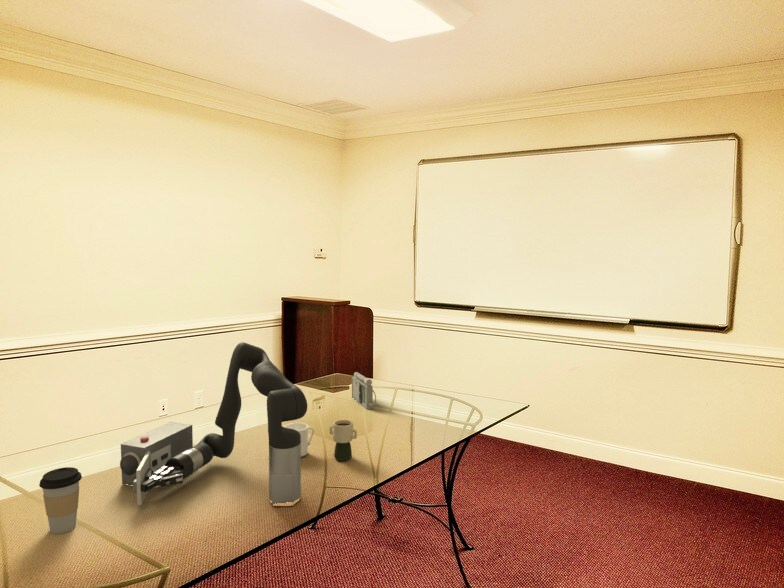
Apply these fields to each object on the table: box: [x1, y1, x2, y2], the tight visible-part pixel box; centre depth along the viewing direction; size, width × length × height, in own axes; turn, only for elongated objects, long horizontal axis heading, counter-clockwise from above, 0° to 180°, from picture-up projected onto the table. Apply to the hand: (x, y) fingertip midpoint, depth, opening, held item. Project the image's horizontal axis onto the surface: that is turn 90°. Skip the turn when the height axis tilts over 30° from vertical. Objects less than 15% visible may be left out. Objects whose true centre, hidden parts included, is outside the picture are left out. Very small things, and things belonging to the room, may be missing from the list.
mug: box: [283, 422, 315, 459], centre depth 188 cm, size 11×9×10 cm
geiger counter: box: [351, 371, 377, 410], centre depth 248 cm, size 14×6×25 cm
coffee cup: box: [38, 466, 83, 535], centre depth 137 cm, size 9×9×15 cm
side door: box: [132, 452, 151, 506], centre depth 154 cm, size 13×2×10 cm, turn 14°
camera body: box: [119, 421, 194, 486], centre depth 171 cm, size 24×10×14 cm, turn 162°
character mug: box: [329, 419, 358, 461], centre depth 185 cm, size 11×7×13 cm, turn 65°
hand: (142, 488), depth 147 cm, fingers closed
